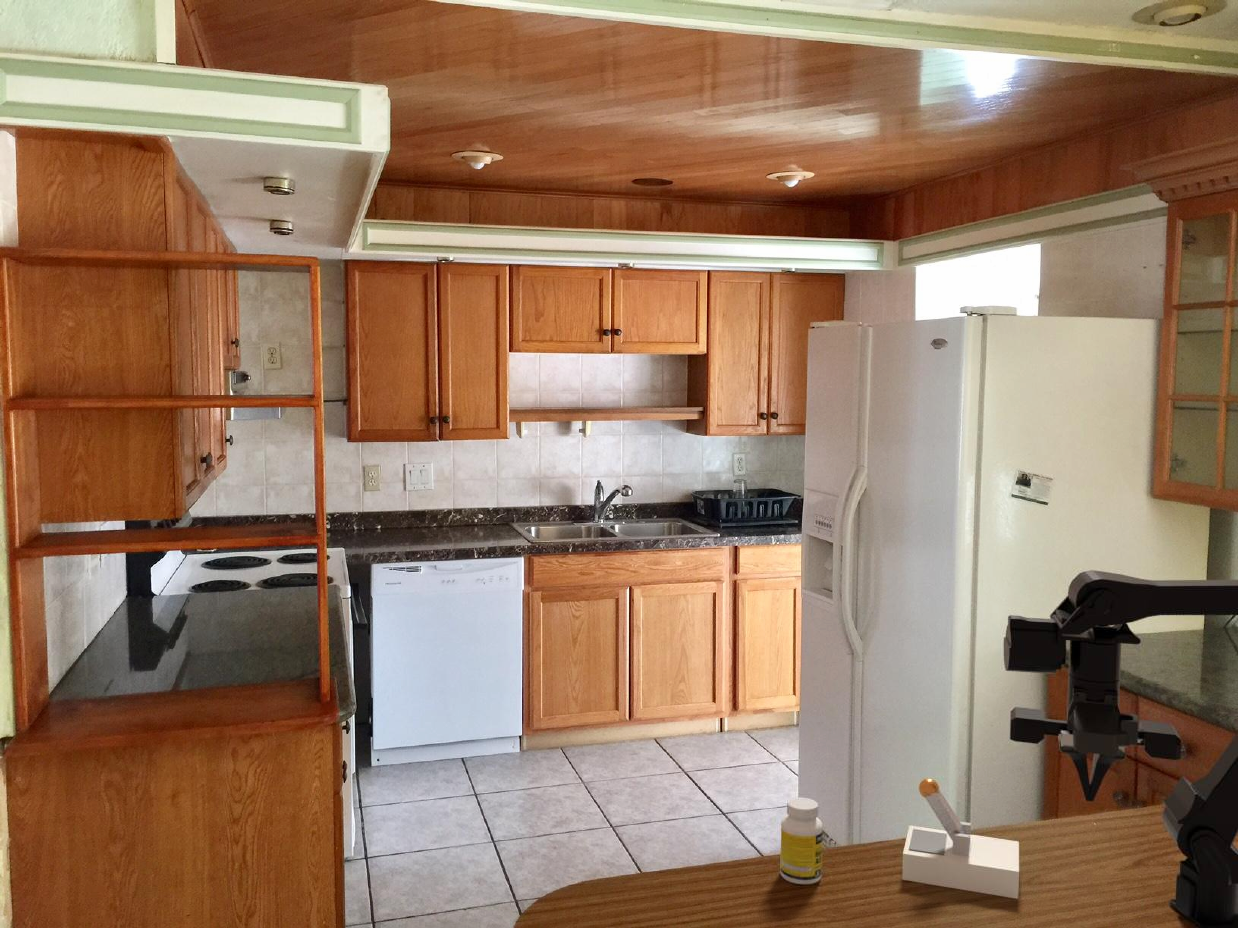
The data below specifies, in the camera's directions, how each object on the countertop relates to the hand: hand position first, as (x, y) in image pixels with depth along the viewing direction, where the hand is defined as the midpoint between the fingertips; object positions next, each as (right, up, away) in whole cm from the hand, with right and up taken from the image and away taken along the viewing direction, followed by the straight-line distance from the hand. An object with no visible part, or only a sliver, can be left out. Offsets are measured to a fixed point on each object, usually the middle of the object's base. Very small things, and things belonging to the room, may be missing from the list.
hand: (1089, 800), depth 127 cm
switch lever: (-13, -8, +8) cm, 17 cm away
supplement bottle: (-34, -13, +8) cm, 37 cm away
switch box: (-13, -12, +9) cm, 20 cm away
